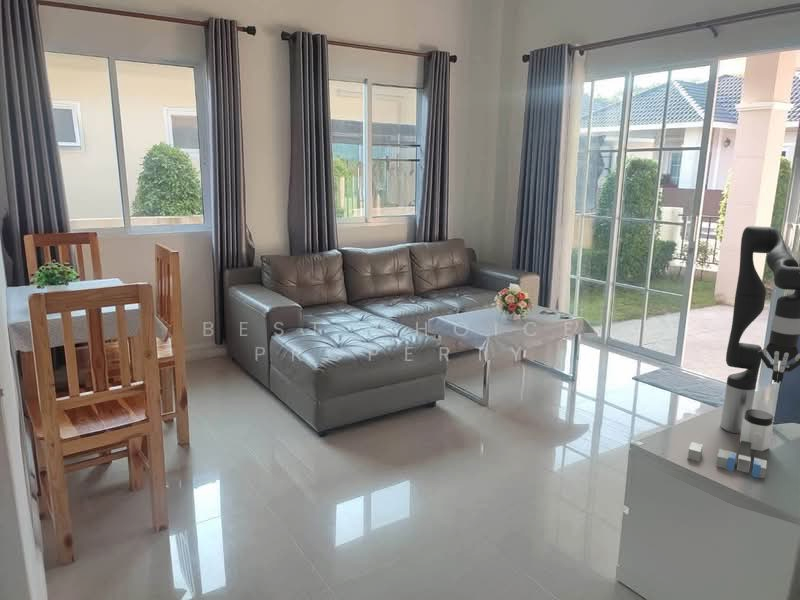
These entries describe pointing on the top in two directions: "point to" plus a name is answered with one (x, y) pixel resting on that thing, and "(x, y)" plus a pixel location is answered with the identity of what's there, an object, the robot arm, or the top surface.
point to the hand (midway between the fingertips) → (776, 381)
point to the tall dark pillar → (744, 457)
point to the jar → (757, 429)
